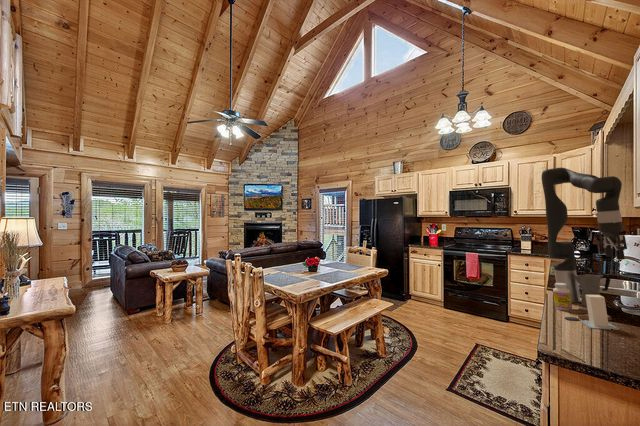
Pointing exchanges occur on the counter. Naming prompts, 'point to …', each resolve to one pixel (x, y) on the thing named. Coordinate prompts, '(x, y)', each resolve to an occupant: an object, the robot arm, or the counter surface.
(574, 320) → the hole
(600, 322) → the block
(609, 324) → the tile
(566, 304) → the supplement bottle
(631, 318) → the counter surface
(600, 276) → the coffeepot
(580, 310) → the corral
